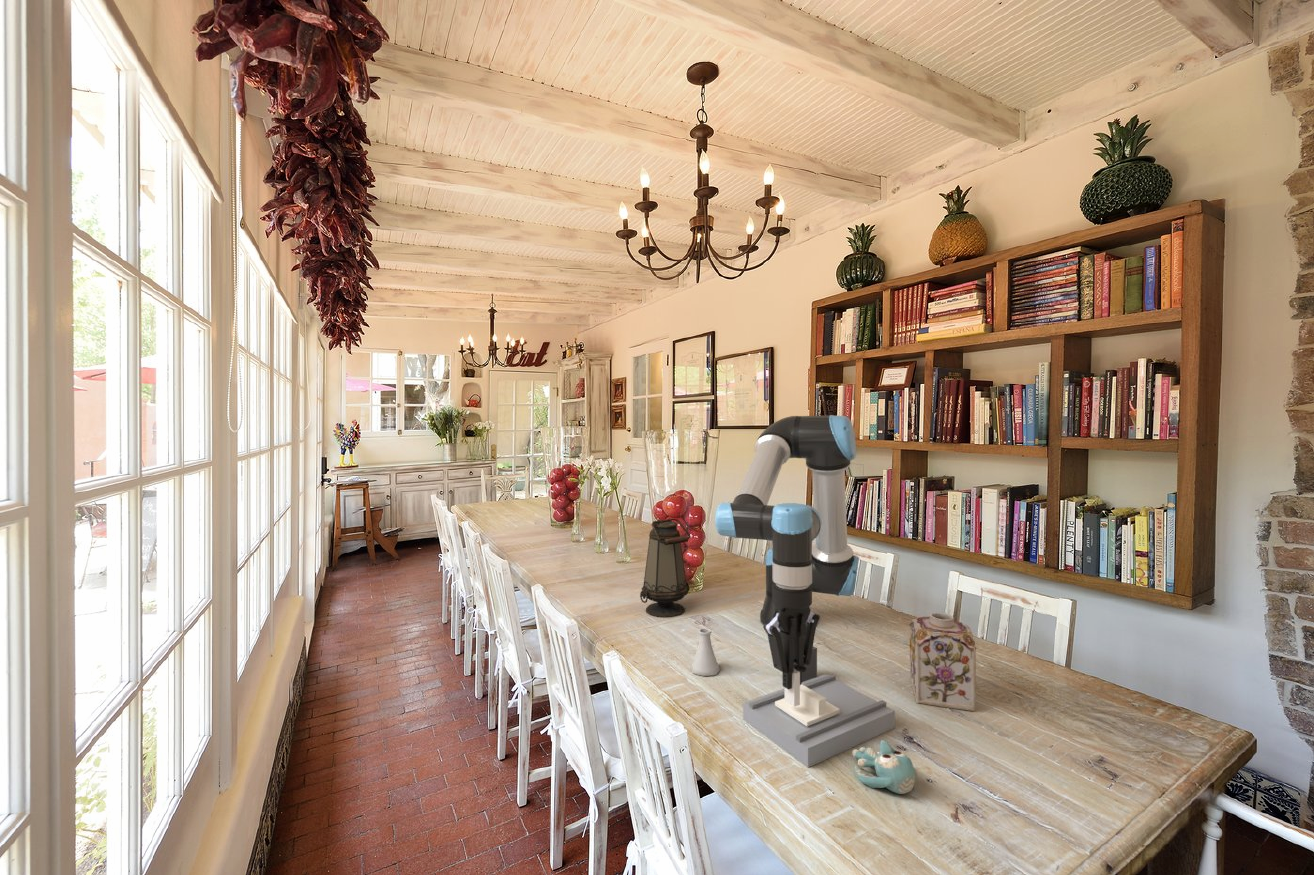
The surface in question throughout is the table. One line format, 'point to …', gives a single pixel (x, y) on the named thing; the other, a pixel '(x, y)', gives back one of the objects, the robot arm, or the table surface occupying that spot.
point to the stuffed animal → (885, 768)
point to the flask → (705, 656)
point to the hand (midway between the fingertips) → (792, 702)
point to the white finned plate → (809, 707)
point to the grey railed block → (827, 736)
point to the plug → (811, 667)
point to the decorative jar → (943, 662)
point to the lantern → (665, 570)
